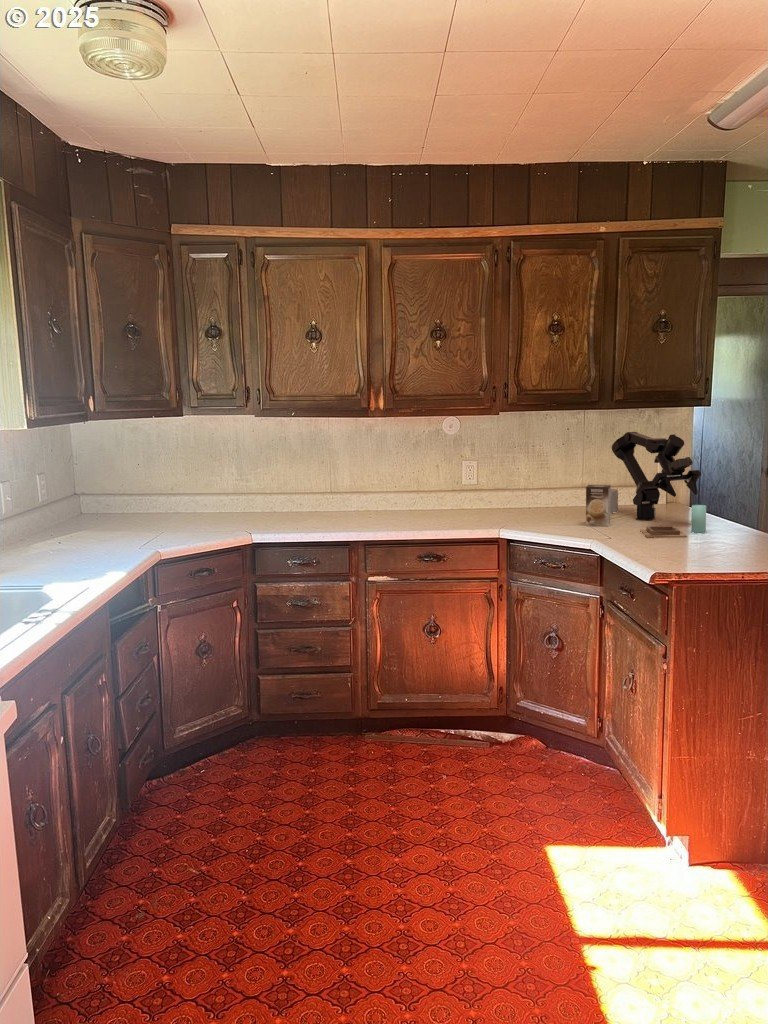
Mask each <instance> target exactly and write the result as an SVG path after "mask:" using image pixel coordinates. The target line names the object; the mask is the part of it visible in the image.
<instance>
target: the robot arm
mask: <svg viewBox="0 0 768 1024" xmlns="http://www.w3.org/2000/svg"><path fill="white" fill-rule="evenodd" d="M637 445H638V446H640V447H644V448H645V450H646V451H647V452H648V453H650V454H657V455H656V456H655V458H654V461H653V462H654V463H655V464H657V463H658V464H659V466H660V467H661V472H657V473H656V474H655V476H654V477H653V478H652V480H648V478H647V476H646V475H645V473H644V471H643V470H642V467H641V465H640V464H639V462H638V461H637V459H636V457H635V447H637ZM684 446H685V441H684V439H682V438H681V437H679V436H677V435H676V434H669V436H668V437H667V438H664V437H651V436H648V435H645V434H642V433H640V432H637V431H628V432H625V433H624V434H623V435H622V436H620V437H619V438H618V439H615V441H614V442H613V443H612V445H611V450H612V451H611V452H612V453H613V454H614V455H615V457H616V458H617V459H619V460H621V461H622V462H623V463H624V465H625V467H626V469H627V471H628V473H629V474H630V477H631V479H632V480H633V482H634V484H635V485H636V488H635V489H636V490H635V493H636V494H635V496H634V498H632V502H633V503H632V504H633V505H634V506H636V518H635V520H637V521H653V520H655V519H656V513H657V512H656V507H655V505H658V504H659V500H660V495H661V492H660V490H662V491H664V492H666V493H667V494H669V495H671V496H672V497H674V498H676V497H677V493H676V491H675V490H674V487H673V486H672V483H671V482H677V481H684V483H685V484H686V487H687V488H688V489H689V490H690V491H691V493H693V495H694V496H696V495H698V488H697V481H698V480H699V479H700V477H701V476H702V473H701V471H700V470H699V469H689V470H688V472H687V473H686V474H683V473H685V471H686V468H688V467H690V466H691V465H692V464H693V460H692V458H691V456H686V457H685V458H676V459H675V457H677V456H678V454H679V453H680V451H681V450H682V448H683V447H684ZM659 489H660V490H659Z"/></svg>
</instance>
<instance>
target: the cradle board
mask: <svg viewBox="0 0 768 1024" xmlns="http://www.w3.org/2000/svg"><path fill="white" fill-rule="evenodd" d="M645 527H646V529H639V532H640V533H641V532H642V533H643V534H644V535H645V536H644V535H643V534H642V533H641V534H642V535H643V536H644V537H645V538H646V539H655V538H654V537H687V538H688V535H686V534H685V533H684V532H683V531H681V529H679V528H677V527H676V526H674V525H669V526H667V525H663V526H661V525H659V526H645Z"/></svg>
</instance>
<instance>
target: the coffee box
mask: <svg viewBox="0 0 768 1024" xmlns="http://www.w3.org/2000/svg"><path fill="white" fill-rule="evenodd" d="M611 489H612V488H611V485H610V484H588V485H586V487H585V527H606V526H608V527H609V526H610V525H611V514H610V497H611Z"/></svg>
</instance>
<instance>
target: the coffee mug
mask: <svg viewBox="0 0 768 1024" xmlns="http://www.w3.org/2000/svg"><path fill="white" fill-rule="evenodd" d="M617 511H618V512H619V490H618V489H617V488H611V497H610V513H613V512H617Z"/></svg>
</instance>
